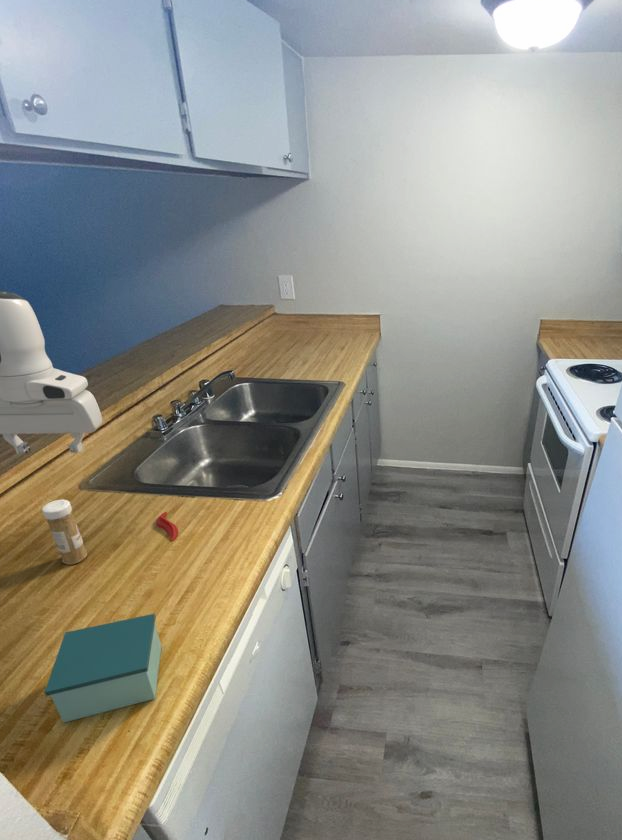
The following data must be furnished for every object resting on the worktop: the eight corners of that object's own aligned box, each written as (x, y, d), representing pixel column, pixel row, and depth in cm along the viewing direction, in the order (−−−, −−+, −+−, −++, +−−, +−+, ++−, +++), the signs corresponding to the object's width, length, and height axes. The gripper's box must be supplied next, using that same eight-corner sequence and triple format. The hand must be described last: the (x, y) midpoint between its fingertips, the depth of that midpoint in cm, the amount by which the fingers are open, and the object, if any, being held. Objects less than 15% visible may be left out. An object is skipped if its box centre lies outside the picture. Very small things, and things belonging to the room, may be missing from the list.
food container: (60, 725, 68) (44, 692, 64) (78, 664, 77) (65, 632, 73) (157, 700, 72) (146, 667, 68) (163, 644, 81) (154, 613, 77)
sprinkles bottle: (92, 556, 99) (73, 504, 93) (68, 568, 96) (47, 514, 89) (81, 548, 101) (63, 495, 95) (58, 559, 98) (37, 506, 92)
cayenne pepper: (156, 514, 113) (155, 508, 112) (177, 510, 114) (176, 504, 113) (155, 545, 103) (153, 538, 102) (178, 540, 105) (176, 533, 104)
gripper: (-51, 390, 80) (-20, 461, 86) (79, 390, 83) (99, 458, 89) (-25, 378, 86) (2, 445, 92) (95, 377, 88) (113, 443, 95)
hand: (50, 451), depth 91 cm, fingers open, 8 cm apart
